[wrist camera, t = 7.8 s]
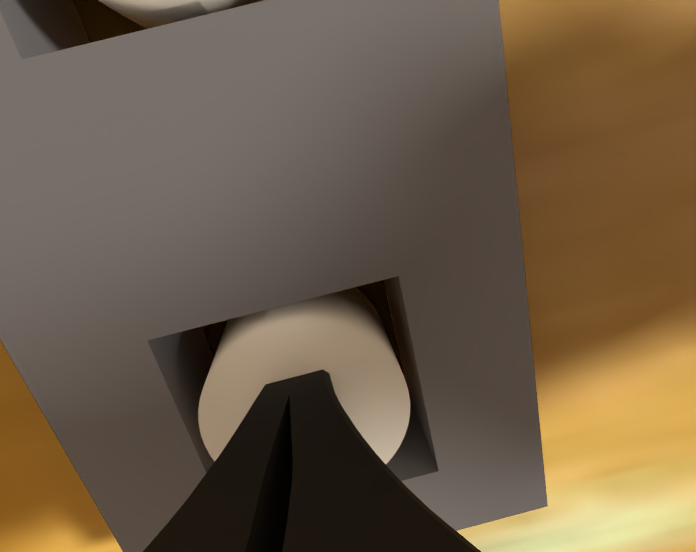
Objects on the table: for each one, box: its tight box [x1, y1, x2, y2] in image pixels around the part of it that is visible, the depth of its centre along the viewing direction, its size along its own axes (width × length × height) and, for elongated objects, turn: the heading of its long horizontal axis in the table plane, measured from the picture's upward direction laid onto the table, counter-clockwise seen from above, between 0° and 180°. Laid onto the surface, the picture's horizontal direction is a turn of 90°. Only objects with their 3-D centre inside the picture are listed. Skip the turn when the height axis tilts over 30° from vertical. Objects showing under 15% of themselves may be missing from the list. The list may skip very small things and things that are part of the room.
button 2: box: [198, 287, 410, 464], centre depth 11 cm, size 4×4×3 cm
